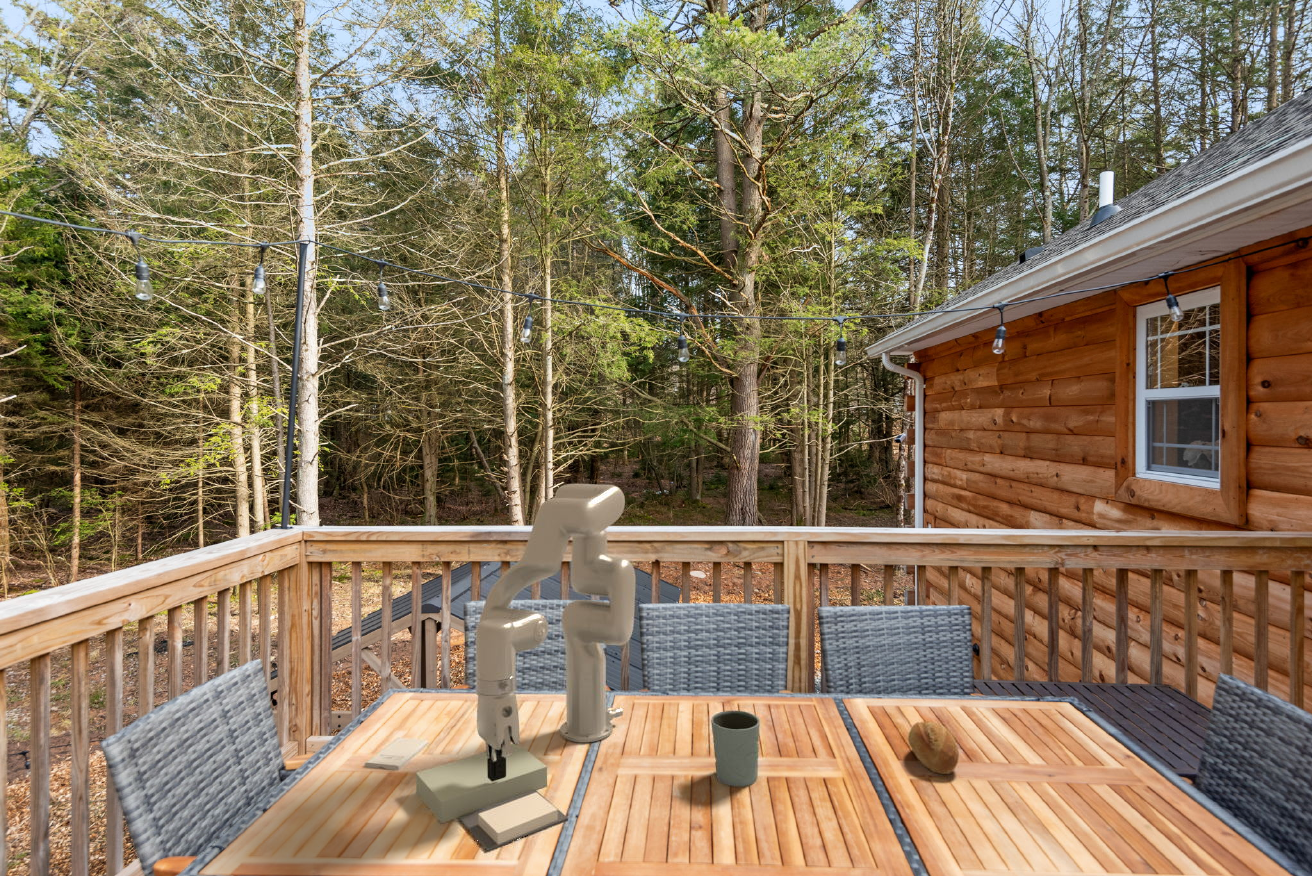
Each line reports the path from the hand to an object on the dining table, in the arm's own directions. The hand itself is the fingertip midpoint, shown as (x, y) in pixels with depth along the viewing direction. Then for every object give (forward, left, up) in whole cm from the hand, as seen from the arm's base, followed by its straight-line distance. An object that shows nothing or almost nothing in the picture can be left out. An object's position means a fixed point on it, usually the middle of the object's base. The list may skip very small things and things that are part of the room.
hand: (496, 777), depth 135 cm
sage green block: (0, -7, -5) cm, 9 cm away
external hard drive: (+9, -33, -6) cm, 35 cm away
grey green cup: (-44, +21, -5) cm, 49 cm away
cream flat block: (0, +9, -3) cm, 9 cm away
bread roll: (-82, +43, -5) cm, 93 cm away
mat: (0, +7, -5) cm, 9 cm away
